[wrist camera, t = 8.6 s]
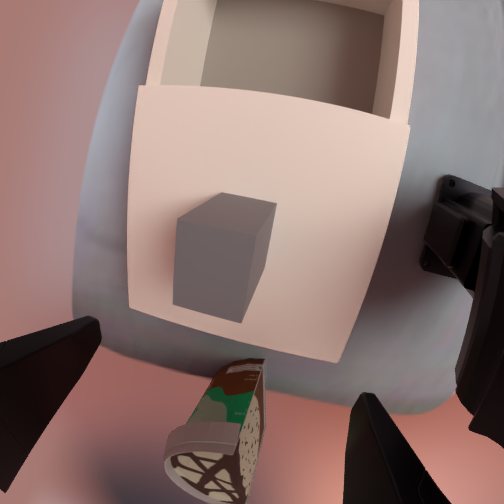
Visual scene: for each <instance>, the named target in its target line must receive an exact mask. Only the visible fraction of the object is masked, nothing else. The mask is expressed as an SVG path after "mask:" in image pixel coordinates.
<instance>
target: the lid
mask: <svg viewBox="0 0 504 504" xmlns="http://www.w3.org/2000/svg"><path fill="white" fill-rule="evenodd" d="M410 127H411V126H409V125H406V124H403V123H400V122H397V121H394V120H390V119H387V118H384V117H380V116H377V115H373V114H370V113H366V112H362V111H358V110H354V109H350V108H346V107H342V106H338V105H333V104H329V103H324V102H319V101H314V100H309V99H304V98H298V97H292V96H286V95H280V94H273V93H266V92H258V91H250V90H241V89H231V88H219V87H204V86H182V85H139V88H138V95H137V102H136V109H135V117H134V125H133V134H132V144H131V155H130V168H129V185H128V208H127V270H128V294H129V308H132V309H135V310H137V311H140V312H143V313H146V314H149V315H152V316H155V317H158V318H161V319H164V320H168V321H171V322H174V323H177V324H180V325H184V326H187V327H190V328H193V329H197V330H200V331H204V332H207V333H211V334H214V335H218V336H221V337H225V338H229V339H232V340H236V341H240V342H244V343H248V344H252V345H256V346H260V347H264V348H268V349H272V350H276V351H281V352H285V353H290V354H294V355H299V356H303V357H308V358H313V359H318V360H323V361H328V362H333V363H338V362H339V360H340V357H341V355H342V353H343V350H344V348H345V346H346V343H347V341H348V339H349V336H350V334H351V331H352V329H353V326H354V324H355V321H356V319H357V316H358V313H359V311H360V308H361V305H362V303H363V300H364V297H365V295H366V292H367V289H368V286H369V283H370V280H371V278H372V275H373V272H374V269H375V266H376V263H377V259H378V256H379V253H380V250H381V247H382V244H383V240H384V237H385V234H386V230H387V227H388V223H389V220H390V216H391V212H392V209H393V205H394V201H395V197H396V193H397V189H398V185H399V181H400V176H401V172H402V168H403V163H404V158H405V154H406V149H407V144H408V138H409V133H410Z"/></svg>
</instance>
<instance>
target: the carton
mask: <svg viewBox="0 0 504 504" xmlns="http://www.w3.org/2000/svg"><path fill="white" fill-rule="evenodd" d="M418 21H419V0H164V2H163V5H162V9H161V13H160V17H159V21H158V26H157V30H156V34H155V39H154V43H153V48H152V53H151V58H150V64H149V69H148V75H147V81H146V85H182V86H204V87H219V88H231V89H241V90H250V91H258V92H266V93H273V94H280V95H286V96H292V97H298V98H304V99H309V100H314V101H319V102H324V103H329V104H333V105H338V106H342V107H346V108H350V109H354V110H358V111H362V112H366V113H370V114H373V115H377V116H380V117H384V118H387V119H390V120H394V121H397V122H400V123H403V124H406V125H407V122H408V116H409V109H410V103H411V96H412V89H413V81H414V72H415V63H416V52H417V39H418Z"/></svg>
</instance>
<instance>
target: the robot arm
mask: <svg viewBox="0 0 504 504" xmlns="http://www.w3.org/2000/svg"><path fill="white" fill-rule="evenodd" d="M451 179H452V181H453V184H452V186H449V181H450V180H451ZM424 241H425V246H424V249H423V252H422V255H421V257H420V261H419V264H420V266H421V268H422V269H423V270H425V271H428V272H432V273H436V274H440V275H444V276H448V277H452V278H455V279H458V280H459V282H460V283H461V284H462V285H463V286H464V288H465V289H466V290H467V291H468V293H469V294H470V295H471V296H472V298H473V303H472V308H471V312H470V317H469V321H468V325H467V329H466V333H465V337H464V340H463V344H462V347H461V351H460V354H459V357H458V361H457V364H456V367H455V375H456V384H457V387H456V394H457V396H458V398H459V400H460V401H461V403H462V404H463V406H464V407H465V408H466V409H467V410H468V411H469V412H470V413H471V414H472V415H473V416H474V417H473V419H472V421H471V423H470V425H469V427H468V428H469V430H470V431H472V432H475V433H478V434H481V435H484V436H487V437H488V438H490V439H491V440H493V441H495V442H496V443H498V444H499V445H501V446H502V447H503V448H504V188H492V191H490V190H488V189H485V188H483V187H481V186H478V185H476V184H473V183H471V182H468V181H466V180H463V179H461V178H458V177H456V176H453V175H446V176H445V177H444V179H443V183H442V187H441V191H440V195H439V199H438V202H436V203H435V204H434V207H433V211H432V214H431V218H430V221H429V224H428V228H427V231H426V234H425V237H424ZM427 260H429V263H428V264H427V265H424V263H425V261H427ZM101 339H102V336H101V330H100V324H99V321H98V319H96V318H94V317H91V316H85V317H82V318H79V319H76V320H73V321H70V322H66V323H63V324H60V325H56V326H53V327H51V328H47V329H43V330H41V331H37V332H34V333H31V334H27V335H24V336H21V337H17V338H14V339H11V340H8V341H7V342H6V341H4V342H1V343H0V489H1V490H2V491H3V492H4V493H6V492H7V490H8V489H9V487H10V485H11V483H12V482H13V480H14V478H15V476H16V475H17V473H18V471H19V470H20V468H21V466H22V465H23V463H24V462H25V460H26V458H27V457H28V454H29V453H30V452H31V450H32V448H33V447H34V445H35V444H36V442H37V441H38V439H39V438H40V436H41V434H42V433H43V431H44V430H45V428H46V427H47V425H48V424H49V422H50V421H51V419H52V418H53V416H54V415H55V413H56V412H57V410H58V409H59V407H60V406H61V404H62V403H63V402H64V400H65V399H66V397H67V396H68V394H69V393H70V391H71V390H72V389H73V387H74V386H75V384H76V383H77V382H78V380H79V379H80V377H81V376H82V374H83V373H84V371H85V369H86V367H87V366H88V364H89V362H90V360H91V358H92V357H93V355H94V353H95V352H96V350H97V348H98V346H99V345H100V343H101ZM343 504H451V503H450V501H449V500H448V499H447V498H446V496H445V495H444V494H443V493H442V491H441V490H440V489H439V487H438V486H437V485H436V483H435V482H434V481H433V479H432V478H431V476H430V475H429V473H428V472H427V471H426V470H425V467H424V466H423V464H422V463H421V461H420V460H419V458H418V457H417V455H416V454H415V453H414V451H413V449H412V448H411V447H410V445H409V443H408V442H407V440H406V439H405V437H404V436H403V435H402V433H401V432H400V430H399V429H398V427H397V426H396V424H395V423H394V421H393V420H392V419H391V417H390V416H389V414H388V413H387V411H386V410H385V408H384V407H383V405H382V404H381V402H380V401H379V400H378V398H377V397H376V395H375V394H373V393H367V392H363V393H361V394H360V396H359V397H358V399H357V401H356V403H355V404H354V406H353V408H352V410H351V414H350V422H349V430H348V437H347V444H346V452H345V473H344V492H343Z"/></svg>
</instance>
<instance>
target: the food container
mask: <svg viewBox="0 0 504 504" xmlns="http://www.w3.org/2000/svg"><path fill="white" fill-rule="evenodd" d="M265 407H266V406H265V359H245V360H240V361H234V362H232V363H230V364H228V365H226V366H224V367H222V368H221V369H220V370H219V372H218V373H217V374H216V375H215V376H214V378H213V380H212V381H211V383H210V385H209V386H208V388H207V390H206V392H205V393H204V395H203V397H202V399H201V400H200V402H199V403H198V405H197V407H196V408H195V410H194V412H193V414H192V415H191V417H190V419H189V420H188V422H187V423H186V425H183V426H180V427H178V428H176V429H175V430H173V431H172V432H171V433H170V435H169V436H168V439H167V443H166V448H165V452H164V461H165V463H164V468H165V471H166V473H167V474H168V476H169V477H170V479H171V480H172V481H173V482H174V483H175V484H177V485H178V486H179V487H180V488H182V489H183V490H185V491H186V492H188V493H189V494H191V495H193V496H195V497H196V498H199V499H201V500H203V501H205V502H208V503H210V504H248V501H249V498H250V496H249V494H250V490H251V486H252V483H253V478H254V474H255V470H256V466H257V462H258V458H259V453H260V449H261V444H262V440H263V436H264V431H265V427H266V411H265V410H266V408H265Z"/></svg>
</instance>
